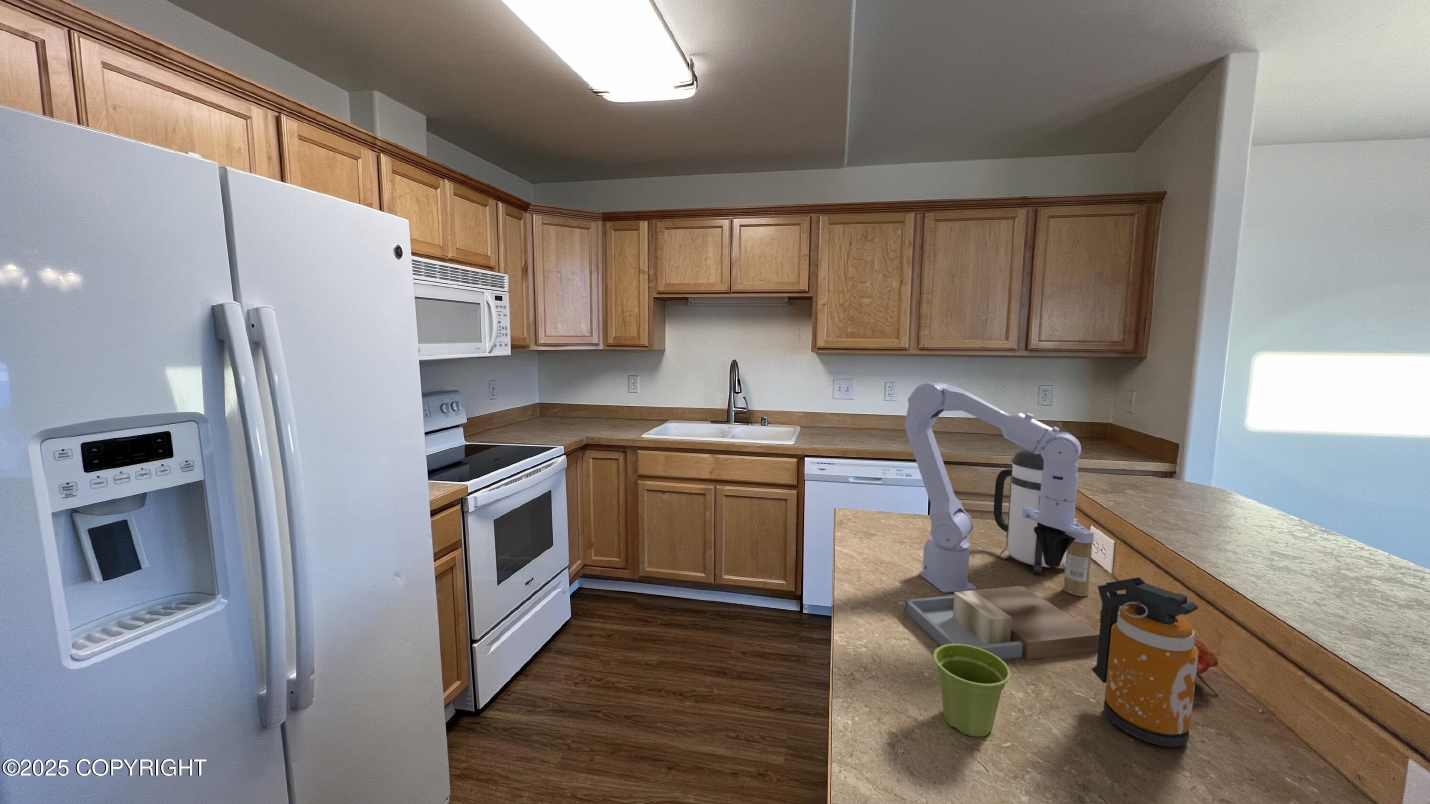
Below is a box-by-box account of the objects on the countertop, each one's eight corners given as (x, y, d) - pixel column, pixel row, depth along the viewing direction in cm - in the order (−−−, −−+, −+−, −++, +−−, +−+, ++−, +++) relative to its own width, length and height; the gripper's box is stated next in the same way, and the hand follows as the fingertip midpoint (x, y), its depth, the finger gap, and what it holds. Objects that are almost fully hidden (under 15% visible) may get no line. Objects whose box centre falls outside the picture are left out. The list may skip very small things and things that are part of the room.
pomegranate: (1215, 695, 81) (1159, 632, 87) (1254, 679, 76) (1191, 614, 82) (1182, 710, 79) (1127, 645, 85) (1220, 695, 74) (1159, 626, 80)
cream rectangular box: (971, 615, 100) (952, 617, 99) (973, 590, 99) (954, 592, 98) (1009, 644, 90) (989, 647, 89) (1011, 617, 89) (991, 619, 88)
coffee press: (1071, 558, 127) (1081, 437, 123) (1074, 583, 113) (1086, 448, 110) (991, 543, 136) (999, 430, 133) (985, 565, 123) (993, 440, 119)
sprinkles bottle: (1092, 593, 109) (1098, 531, 107) (1082, 599, 106) (1088, 536, 105) (1068, 585, 113) (1073, 525, 111) (1058, 590, 110) (1063, 529, 109)
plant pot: (922, 695, 77) (925, 640, 76) (988, 700, 76) (992, 645, 75) (943, 744, 68) (946, 682, 67) (1019, 750, 67) (1023, 687, 66)
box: (904, 612, 101) (905, 599, 101) (957, 607, 103) (958, 595, 103) (960, 665, 85) (960, 650, 84) (1021, 657, 87) (1022, 643, 86)
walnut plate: (958, 605, 104) (959, 591, 103) (1020, 599, 106) (1021, 585, 106) (1027, 659, 86) (1028, 642, 86) (1099, 650, 89) (1101, 634, 88)
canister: (1168, 761, 65) (1185, 610, 63) (1074, 706, 75) (1085, 574, 73) (1201, 736, 69) (1218, 593, 67) (1107, 687, 79) (1119, 561, 77)
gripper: (1110, 507, 93) (1103, 580, 94) (1045, 485, 107) (1040, 549, 108) (1076, 509, 91) (1070, 583, 93) (1015, 487, 106) (1010, 551, 107)
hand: (1052, 565), depth 101 cm, fingers closed
